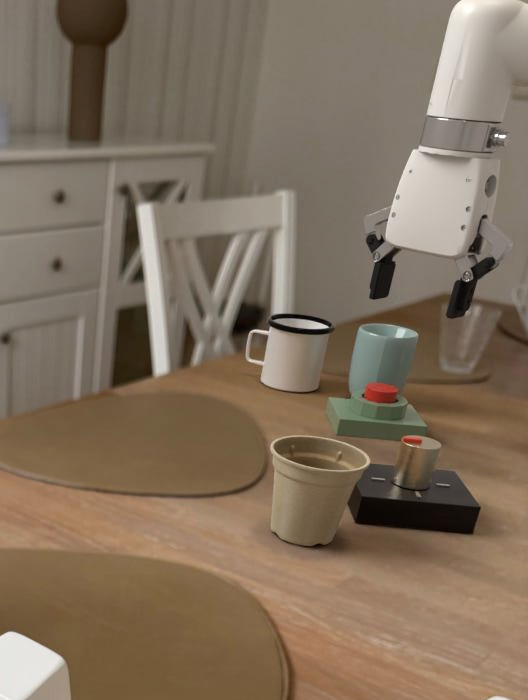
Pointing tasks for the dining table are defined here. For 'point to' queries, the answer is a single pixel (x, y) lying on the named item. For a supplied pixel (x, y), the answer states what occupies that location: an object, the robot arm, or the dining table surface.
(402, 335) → the cup
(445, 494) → the dial panel
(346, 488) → the flower pot
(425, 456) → the knob
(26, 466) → the dining table surface
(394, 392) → the button
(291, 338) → the mug
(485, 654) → the dining table surface
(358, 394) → the button housing
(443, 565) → the dining table surface
